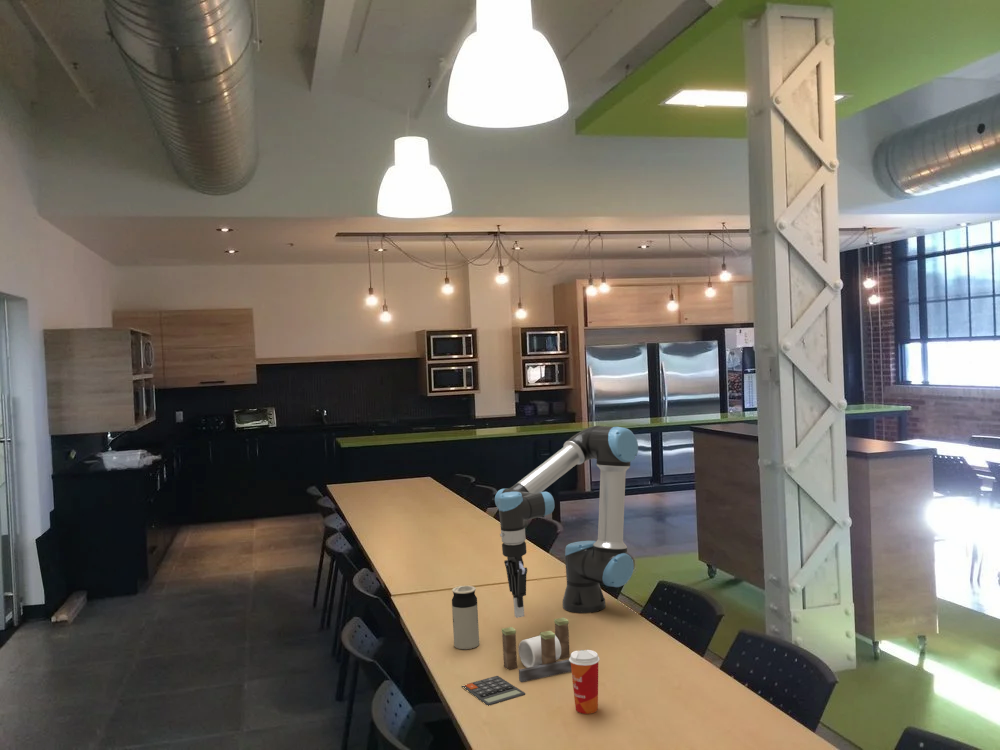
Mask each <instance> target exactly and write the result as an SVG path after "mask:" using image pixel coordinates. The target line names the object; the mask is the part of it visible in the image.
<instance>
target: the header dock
mask: <svg viewBox="0 0 1000 750" xmlns="http://www.w3.org/2000/svg"><path fill="white" fill-rule="evenodd" d="M553 620H554V632H553V631H552V630H547V631H546V630H545V631H541V632H540V633H539V635H540V636H541V652H542V665H538V666H534V667H529V668H527V667H525V668H524V667H523V668H520V669H518V681H519V682H521V683H524V682H529V681H533V680H537V679H542V678H547V677H553V676H556V675H562V674H565V673H570V672H571V673H572V671H571V662H570V661H569V658H570V656H571V653H570V651H571V650H570V634H569V633H570V632H569V621H570V620H568V619H567V618H565V617H559V618H554V619H553ZM501 633H502V634H501V637H502V655H503V656H502V657H503V659H502V660H503V667H504V668H505V669H506V668H507V669H509V670H513V669H517V668H518V658H517V657H518V656H517V636H516V635H517V629H515V628H514V627H512V626H509V627H503V628H501ZM555 635H556V637H557V638H558V640H559V642H560V645H561V656H560V658H559V659H561V660H558V661H557V660H556V653H555ZM566 658H567V659H566ZM563 659H564V660H563ZM507 669H506V670H507Z"/></svg>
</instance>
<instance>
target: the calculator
mask: <svg viewBox="0 0 1000 750" xmlns="http://www.w3.org/2000/svg"><path fill="white" fill-rule="evenodd" d="M466 684H467V685H465V684H464V685H465V686H462V685H461V688H462V687H464V688H465V687H466V688H465V689H466V690H468V691H469V692H470V693H472V694H473V695H474V696H476V697H477V698H478V699H477V698H476V697H475V698H476V699H477V700H479V701H480V700H481V701H480V702H482V703H483V702H484V703H485V704H484V703H483V704H484V705H486V706H487V705H488V706H489V705H490V706H493V705H496V704H499V702H500V703H504V702H505V701H510V700H512V699H516V698H519V697H522V696H525V695H526V692H524V691H523V690H521V689H520V688H518V687H516V686H515V685H513V684H511V683H510V682H508V681H507V680H505V679H503V678H502V677H501V676H499V675H494V676H491V677H487V678H483V679H479V680H476V681H473V682H469V683H466ZM466 690H465V691H466ZM469 692H468V693H469ZM470 693H469V694H470ZM472 694H471V695H472ZM473 695H472V696H473ZM474 696H473V697H474Z"/></svg>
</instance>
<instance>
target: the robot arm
mask: <svg viewBox="0 0 1000 750" xmlns="http://www.w3.org/2000/svg"><path fill="white" fill-rule="evenodd" d="M638 443H639V442H638V439H637V437H636V435H635V434H634V433H633V431H632V430H630V429H629V428H627V427H621V426H606V425H605V426H603V425H602V426H601V425H593V426H589V427H587V428H584V429H583V430H581V431H579V432H577V433H576V434H574V435H573V436H571V437H570V438H569V439H567V440H566V441H564V443H563V445H562V446H563V447H562V448H561V449H559V450H558V451H557V452H555V453H554V454H553V455H551V456H550V457H549V458H547V459H546V460H545V461H544V462H543V463H541V464H540V465H539V466H537V467H536V468H534V469H533V470H532V471H530V472H529V473H528V474H527V475H526V476H524V477H523V478H521V480H519V481H517V483H515V484H514V485H513V486H511V487H508V488H501V489H499V490H498V491H497V492H496V494H495V496H494V503H495V506H496V507H497V509H498V515H499V522H500V533H499V536H500V538H501V543H502V544H501V551H502V555H503V556H504V557H506V558H507V559H506V560H504V567H505V571H506V577H507V583H508V587H509V592H510V593H511V595H512V599H513V611H514V617H515V618H517V619H519V618H523V617H525V605H524V597H526V595H527V575H528V568H527V567H524V559H523V556H525V555H526V554H527V542H526V540H527V538H526V526H525V521H528V520H533V519H536V518H541V517H546V516H548V515H551V514H552V513H553V512H554V509H555V500H554V499H555V498H554V496H553V495H552V493H550V492H548V491H545V490H546V489H547V488H548V487H550V486H552V484H554V483H555V482H556V481H557V480H558V479H559V478H561V477H563V476H564V475H565V474H566V473H568V472H569V471H570V470H571V469H573V467H575V466H576V465H578V466H579V465H582V464H583V463H585V462H586V461H589V460H595V459H596V463H595V464H596V466H597V468H599V470H600V473H599V474H600V477H599V478H600V479H599V503H598V506H599V507H598V522H597V523H598V524H597V525H598V527H597V528H598V529H597V540H581V541H580V540H579V541H574V542H571V543H568V544H566V546H565V551H564V552H565V553H564V560H565V577H566V587H565V591H564V595H563V599H562V608H563V610H566V611H567V612H571V613H579V614H584V613H585V614H590V613H596V612H599V610H600V611H602V610H604V609H605V607H606V599H605V596H604V593H603V590H602V587H601V585H600V584H602V585H605V586H606V587H613V588H620V587H622V586H624V585H626V584H627V583H628V582H629V581H630V580H631V578H632V576H633V572H634V566H635V565H634V560H633V558H632V557H631V555H629V554H628V546H627V544H626V543H625V542H624V525H625V524H624V523H625V522H624V521H625V520H624V519H625V498H626V496H625V495H626V493H625V492H626V473H627V470H629V469H630V468H631V462H632V461H634V460H635V459H636V456H637V455H638V452H639V444H638Z"/></svg>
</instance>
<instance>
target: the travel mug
mask: <svg viewBox="0 0 1000 750" xmlns="http://www.w3.org/2000/svg"><path fill="white" fill-rule="evenodd" d="M476 589H477V588H476V587H475V586H473V585H459V586H456V587H453V588H452V589H451V591H452V593H453V596H452V599H451V608H452V609H451V610H452V629H453V633H452V634H453V646H454V648H455V649H458V650H471V649H472V648H473V649H475V648H477V647H478V646H479V645H480V633H479V632H480V629H479V613H478V612H479V611H478V609H479V608H478V607H479V606H478V597H477V596H476Z"/></svg>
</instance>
